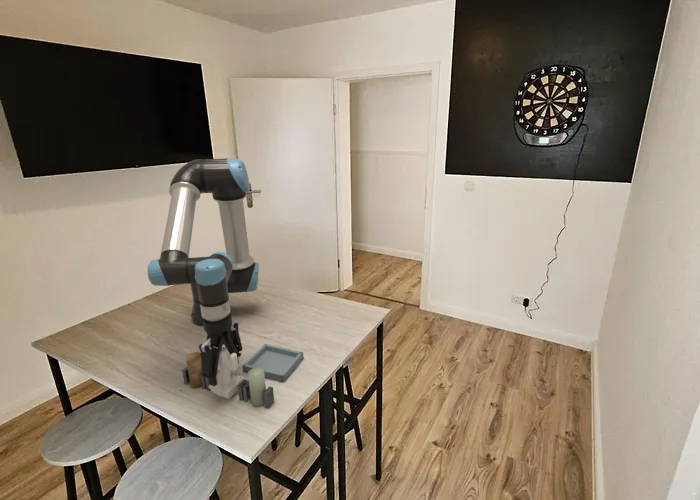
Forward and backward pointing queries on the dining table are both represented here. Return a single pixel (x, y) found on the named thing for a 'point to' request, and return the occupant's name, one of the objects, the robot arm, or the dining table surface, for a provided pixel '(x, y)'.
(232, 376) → the figurine
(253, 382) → the green dowel
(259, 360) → the tray
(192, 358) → the brown rounded cylinder
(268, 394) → the clip posts
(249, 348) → the dining table surface
